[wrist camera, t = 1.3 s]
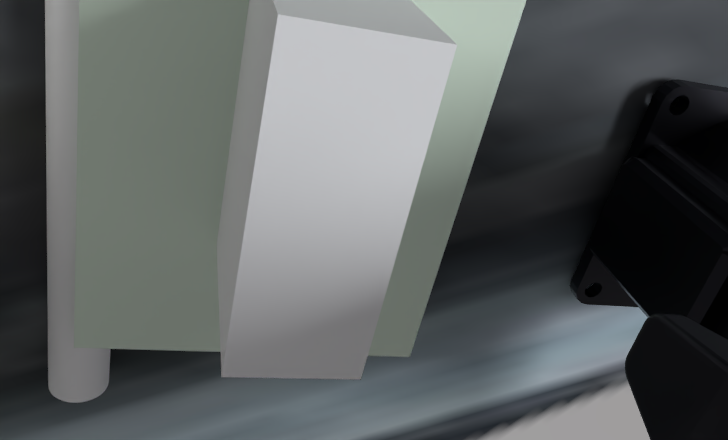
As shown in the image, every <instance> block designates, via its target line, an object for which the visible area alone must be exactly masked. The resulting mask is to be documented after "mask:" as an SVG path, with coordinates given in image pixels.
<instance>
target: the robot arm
mask: <svg viewBox="0 0 728 440" xmlns="http://www.w3.org/2000/svg"><path fill="white" fill-rule="evenodd" d="M678 96H679V101H678V102H677V103H676V105H675V106H673V107H672V108H670V104H671V103H672V101H673V100H674V99H675V98H677V97H678ZM669 108H670V109H669ZM592 283H593V285H592V286H590V287H589V288H587V287H588V286H589V285H590V284H592ZM570 288H571V291H572V293H573V294H574V295H575V297H576V298H577V299H578V300H579V301H580V302H581V303H584V304H591V305H610V306H629V307H639V308H640V309H641V310H642V311H643V312H644V314H645V315H646V316H647V317H648V318H647V320H646V321H645V323H644V324H643V326H642V328H641V330H640V332H639V334H638V336H637V338H636V340H635V342H634V344H633V345H632V347H631V349H630V351H629V353H628V355H627V357H626V361H625V373H626V377H627V380H628V382H629V385H630V387H631V390H632V393H633V395H634V398H635V400H636V403H637V406H638V408H639V411H640V414H641V416H642V419H643V421H644V424H645V426H646V429H647V432H648V434H649V437H650V440H728V88H724V87H718V86H712V85H706V84H701V83H695V82H689V81H683V80H671V81H669V82H666V83H664V84H663V85H662V86H661V87H659V88H658V89H657V91H656V92H655V94H654V95H653V97H652V99H651V101H650V104H649V106H648V108H647V111H646V113H645V115H644V117H643V120H642V122H641V124H640V126H639V129H638V131H637V133H636V135H635V138H634V140H633V142H632V144H631V147H630V149H629V151H628V153H627V156H626V158H625V160H624V162H623V165H622V167H621V169H620V171H619V174H618V176H617V178H616V180H615V183H614V185H613V187H612V190H611V192H610V194H609V196H608V199H607V201H606V203H605V205H604V208H603V210H602V212H601V214H600V217H599V219H598V221H597V223H596V226H595V228H594V230H593V232H592V235H591V237H590V239H589V241H588V244H587V246H586V248H585V250H584V253H583V255H582V257H581V260H580V262H579V264H578V266H577V269H576V271H575V273H574V275H573V278H572V280H571V284H570Z"/></svg>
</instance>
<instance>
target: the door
mask: <svg viewBox="0 0 728 440" xmlns="http://www.w3.org/2000/svg"><path fill="white" fill-rule="evenodd" d="M525 3H526V0H45V67H46V186H47V305H48V388H49V391H50V392H51V394H52V395H53V396H54V397H56V398H57V399H59V400H62V401H65V402H71V403H79V402H85V401H89V400H92V399H94V398H96V397H98V396H99V395H101V394H102V393H103V392H104V391H105V390H106V388H107V387H108V384H109V370H110V350H111V349H138V350H173V351H209V352H221V376H222V377H237V378H293V379H350V380H361V378H362V374H363V371H364V367H365V364H366V360H367V357H368V356H387V357H410V355H411V352H412V349H413V345H414V342H415V339H416V336H417V333H418V330H419V327H420V324H421V321H422V318H423V315H424V312H425V309H426V306H427V303H428V300H429V297H430V293H431V290H432V287H433V284H434V281H435V278H436V275H437V272H438V269H439V266H440V263H441V260H442V257H443V254H444V251H445V248H446V245H447V241H448V238H449V235H450V232H451V229H452V226H453V223H454V220H455V217H456V214H457V211H458V208H459V205H460V202H461V199H462V196H463V193H464V189H465V186H466V183H467V180H468V177H469V174H470V171H471V168H472V165H473V162H474V159H475V156H476V153H477V150H478V147H479V144H480V141H481V138H482V134H483V131H484V128H485V125H486V122H487V119H488V116H489V113H490V110H491V107H492V104H493V101H494V98H495V95H496V92H497V89H498V86H499V82H500V79H501V76H502V73H503V70H504V67H505V64H506V61H507V58H508V55H509V52H510V49H511V46H512V43H513V40H514V37H515V34H516V30H517V27H518V24H519V21H520V18H521V15H522V12H523V9H524V6H525Z"/></svg>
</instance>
